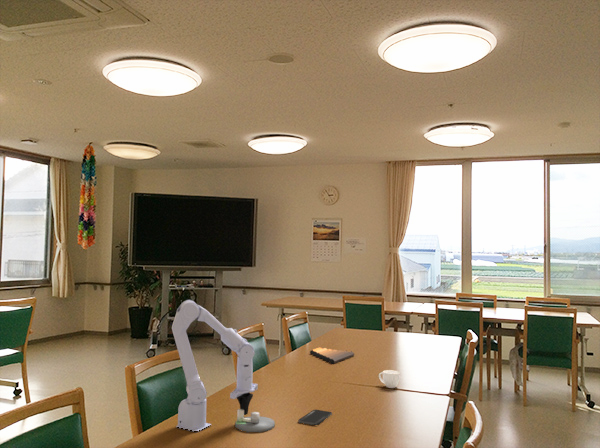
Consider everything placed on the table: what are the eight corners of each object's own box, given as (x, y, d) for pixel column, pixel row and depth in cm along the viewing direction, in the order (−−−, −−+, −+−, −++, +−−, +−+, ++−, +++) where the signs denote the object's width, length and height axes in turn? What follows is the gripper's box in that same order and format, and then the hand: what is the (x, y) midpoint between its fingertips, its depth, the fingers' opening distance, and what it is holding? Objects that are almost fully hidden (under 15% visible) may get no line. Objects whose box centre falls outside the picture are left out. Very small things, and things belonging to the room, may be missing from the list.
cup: (395, 390, 226) (395, 374, 227) (375, 386, 232) (375, 371, 233) (402, 386, 233) (402, 371, 233) (382, 382, 239) (382, 368, 239)
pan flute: (334, 365, 277) (354, 357, 298) (334, 358, 277) (354, 351, 298) (296, 359, 290) (317, 352, 311) (296, 353, 290) (318, 346, 311)
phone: (297, 420, 182) (314, 409, 195) (297, 423, 182) (314, 412, 195) (316, 424, 179) (333, 412, 192) (316, 427, 178) (333, 415, 192)
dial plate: (227, 428, 176) (227, 424, 176) (249, 416, 188) (249, 413, 188) (260, 435, 169) (260, 432, 169) (282, 423, 181) (282, 420, 181)
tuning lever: (260, 420, 180) (260, 410, 180) (257, 423, 177) (257, 412, 177) (239, 418, 182) (239, 408, 182) (235, 421, 179) (236, 410, 179)
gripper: (242, 382, 174) (241, 422, 173) (264, 373, 186) (264, 410, 186) (225, 379, 177) (225, 418, 176) (248, 370, 190) (248, 407, 189)
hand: (244, 414), depth 181 cm, fingers closed, pressing on tuning lever
